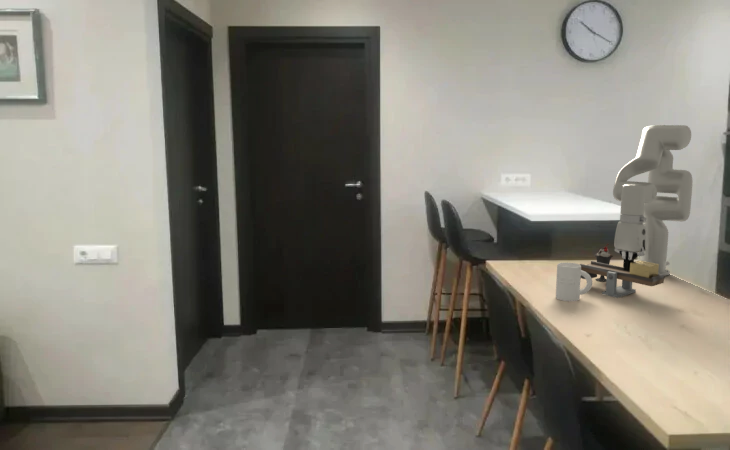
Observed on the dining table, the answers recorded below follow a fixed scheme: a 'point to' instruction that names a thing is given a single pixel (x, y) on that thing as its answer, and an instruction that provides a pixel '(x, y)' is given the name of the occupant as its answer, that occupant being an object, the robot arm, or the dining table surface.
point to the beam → (619, 273)
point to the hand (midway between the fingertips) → (628, 270)
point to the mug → (571, 282)
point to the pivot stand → (617, 291)
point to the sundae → (603, 260)
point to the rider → (644, 269)
